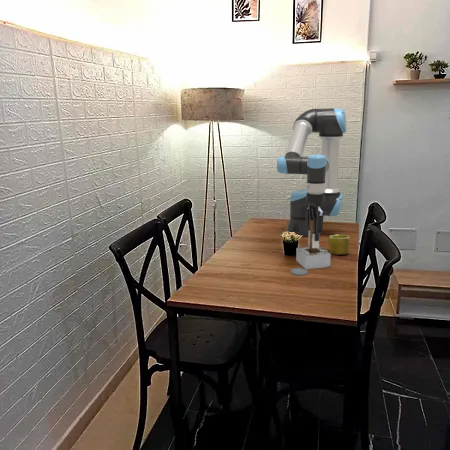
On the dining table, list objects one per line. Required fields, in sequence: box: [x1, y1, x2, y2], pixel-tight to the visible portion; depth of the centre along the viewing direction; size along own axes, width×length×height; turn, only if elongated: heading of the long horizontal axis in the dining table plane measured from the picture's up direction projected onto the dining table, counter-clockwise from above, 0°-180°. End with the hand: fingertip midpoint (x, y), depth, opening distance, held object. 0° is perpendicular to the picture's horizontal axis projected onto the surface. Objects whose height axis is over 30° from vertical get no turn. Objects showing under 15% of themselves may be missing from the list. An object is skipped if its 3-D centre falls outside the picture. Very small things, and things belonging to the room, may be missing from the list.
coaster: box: [290, 267, 309, 277], centre depth 180 cm, size 7×7×1 cm
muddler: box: [308, 219, 317, 253], centre depth 187 cm, size 3×3×16 cm
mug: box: [328, 233, 351, 256], centre depth 203 cm, size 12×10×10 cm
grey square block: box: [295, 245, 332, 270], centre depth 189 cm, size 11×11×6 cm
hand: (313, 246), depth 187 cm, fingers closed on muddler, 3 cm apart
